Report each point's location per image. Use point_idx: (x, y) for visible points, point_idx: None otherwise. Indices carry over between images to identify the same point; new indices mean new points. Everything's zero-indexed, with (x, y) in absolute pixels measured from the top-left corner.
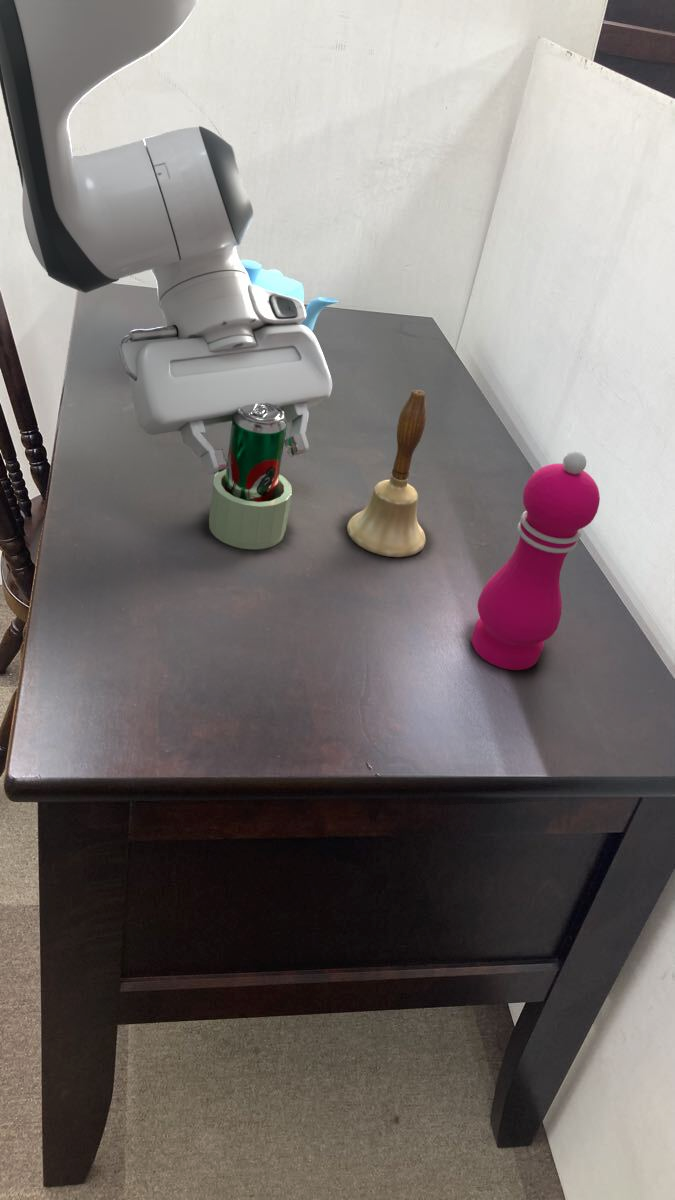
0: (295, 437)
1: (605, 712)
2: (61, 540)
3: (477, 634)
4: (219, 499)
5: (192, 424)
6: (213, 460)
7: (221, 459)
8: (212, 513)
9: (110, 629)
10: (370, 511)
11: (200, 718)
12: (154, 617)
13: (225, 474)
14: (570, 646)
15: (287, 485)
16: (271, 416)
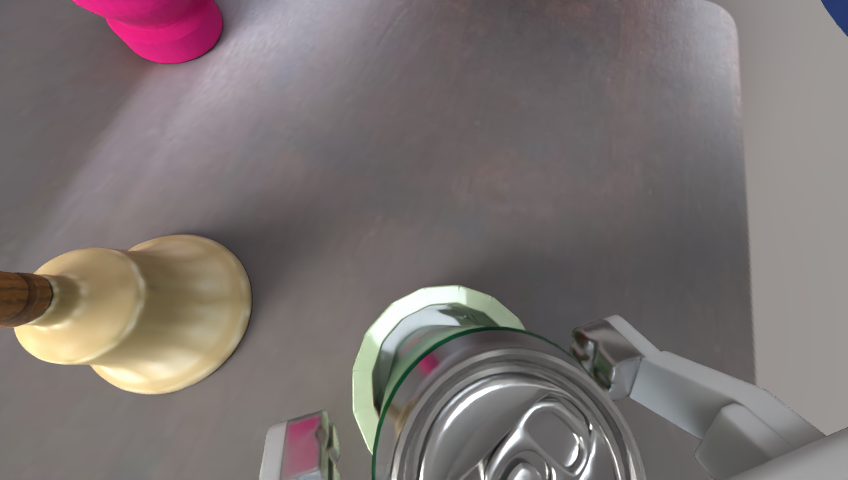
0: (311, 460)
1: None
2: (739, 365)
3: (208, 15)
4: None
5: (806, 429)
6: (630, 329)
7: (604, 336)
8: None
9: (665, 159)
10: (184, 303)
11: (581, 23)
12: (613, 169)
13: None
14: (74, 10)
15: (363, 370)
16: (481, 414)
